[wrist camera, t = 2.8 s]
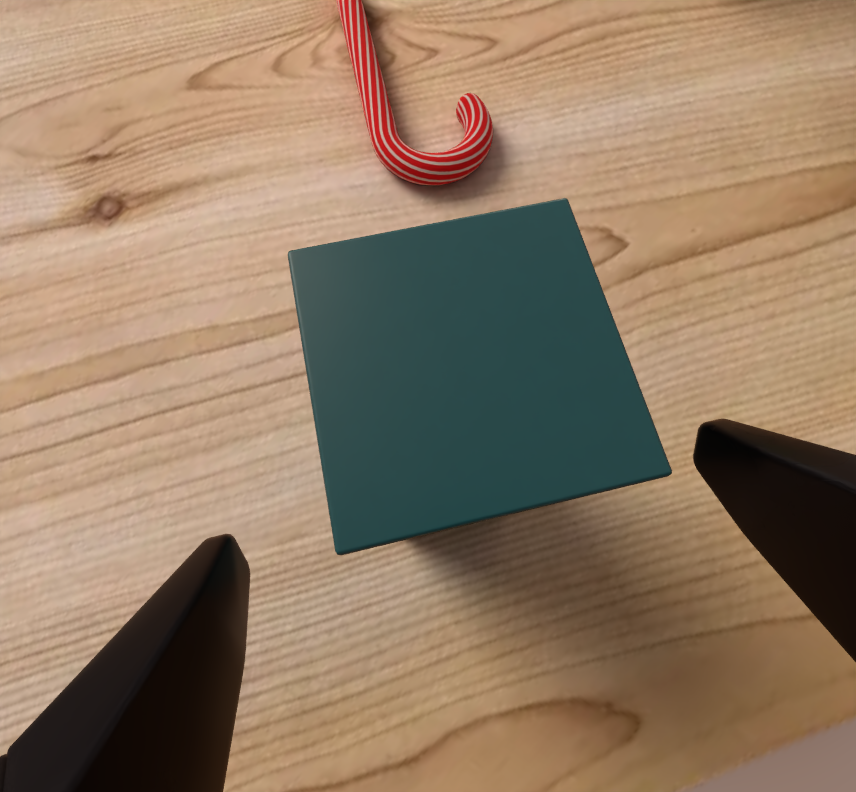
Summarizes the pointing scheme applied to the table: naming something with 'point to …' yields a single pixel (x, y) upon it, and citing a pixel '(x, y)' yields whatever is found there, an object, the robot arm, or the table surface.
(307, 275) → the block
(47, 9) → the table surface
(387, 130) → the candy cane
